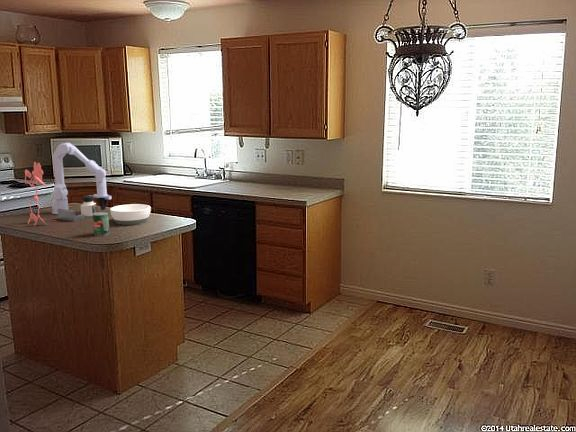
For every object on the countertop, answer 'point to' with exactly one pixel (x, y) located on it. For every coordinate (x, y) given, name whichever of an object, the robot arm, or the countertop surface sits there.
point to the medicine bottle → (88, 206)
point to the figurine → (37, 177)
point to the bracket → (69, 215)
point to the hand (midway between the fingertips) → (103, 209)
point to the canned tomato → (101, 223)
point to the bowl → (130, 214)
